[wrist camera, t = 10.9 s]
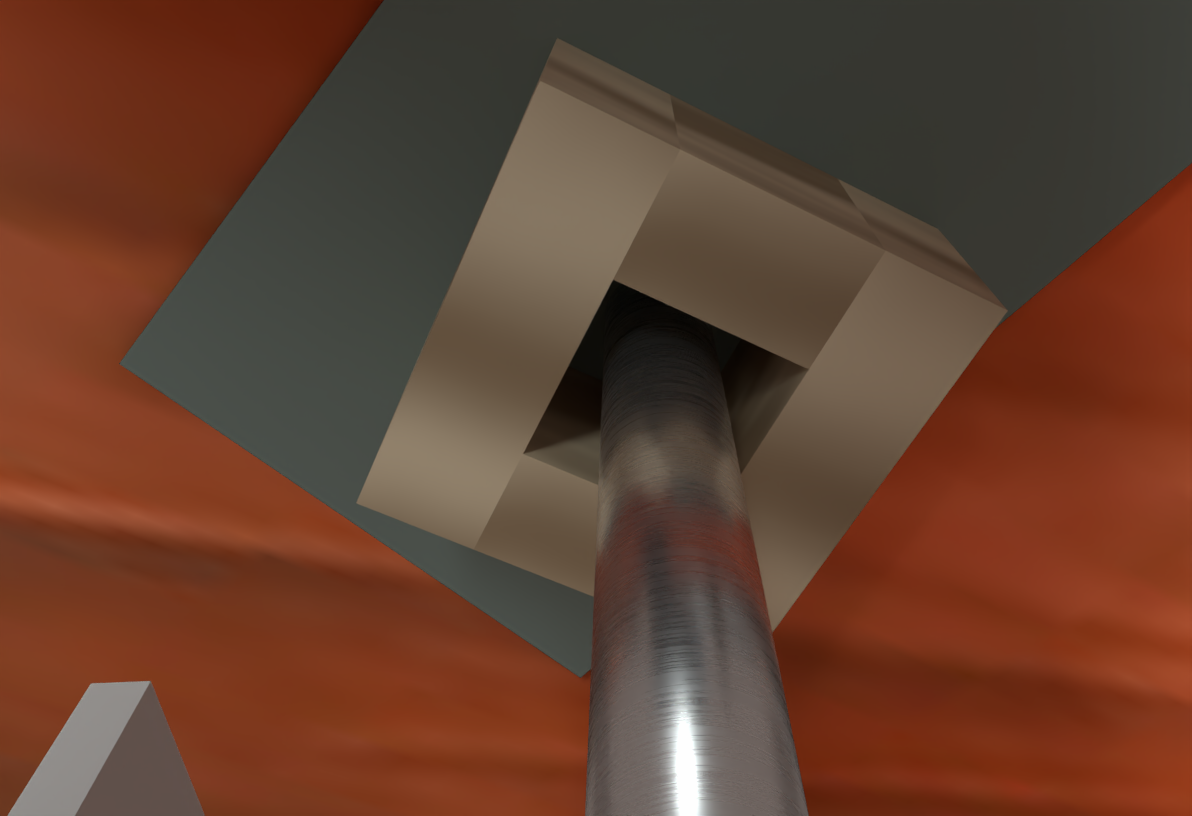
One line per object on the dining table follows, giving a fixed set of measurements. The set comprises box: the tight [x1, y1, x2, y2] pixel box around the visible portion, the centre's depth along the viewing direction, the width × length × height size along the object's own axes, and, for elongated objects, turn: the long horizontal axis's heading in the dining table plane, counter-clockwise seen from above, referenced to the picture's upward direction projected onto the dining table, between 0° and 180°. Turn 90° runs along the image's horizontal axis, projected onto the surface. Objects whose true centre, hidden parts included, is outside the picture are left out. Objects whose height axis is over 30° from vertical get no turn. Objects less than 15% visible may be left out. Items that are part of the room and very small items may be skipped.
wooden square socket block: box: [356, 38, 1008, 633], centre depth 23 cm, size 10×10×5 cm
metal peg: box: [585, 283, 809, 816], centre depth 17 cm, size 3×3×18 cm
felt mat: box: [119, 0, 1192, 678], centre depth 24 cm, size 24×16×1 cm, turn 138°
